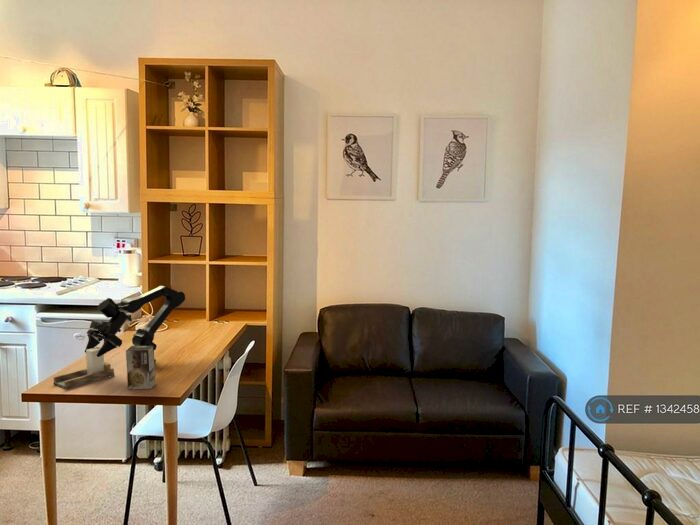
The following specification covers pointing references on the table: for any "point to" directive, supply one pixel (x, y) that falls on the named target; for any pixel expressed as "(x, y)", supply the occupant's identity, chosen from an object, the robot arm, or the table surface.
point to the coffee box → (140, 367)
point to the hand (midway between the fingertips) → (91, 354)
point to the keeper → (94, 361)
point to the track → (82, 377)
